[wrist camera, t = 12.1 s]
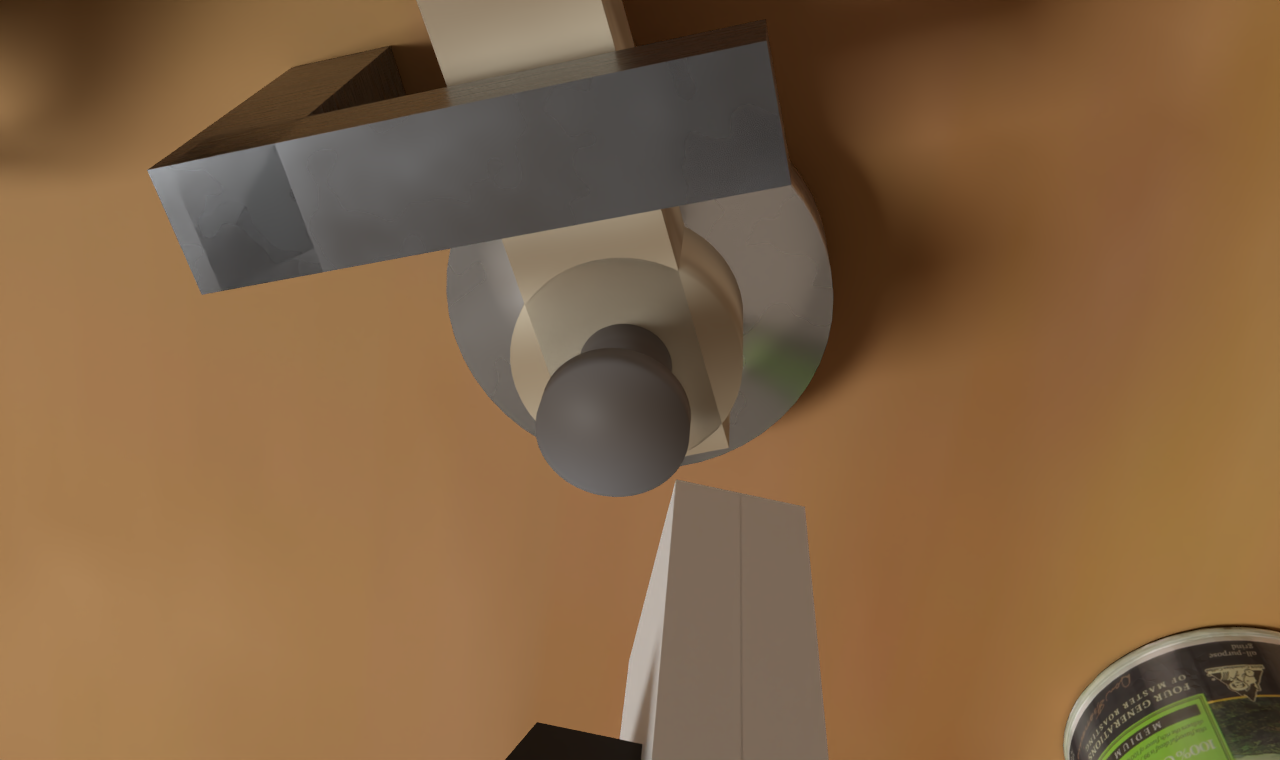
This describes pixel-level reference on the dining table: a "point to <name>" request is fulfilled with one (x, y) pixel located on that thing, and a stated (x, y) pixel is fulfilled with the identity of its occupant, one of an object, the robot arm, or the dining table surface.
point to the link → (604, 285)
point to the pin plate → (766, 276)
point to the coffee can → (1184, 700)
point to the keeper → (468, 155)
